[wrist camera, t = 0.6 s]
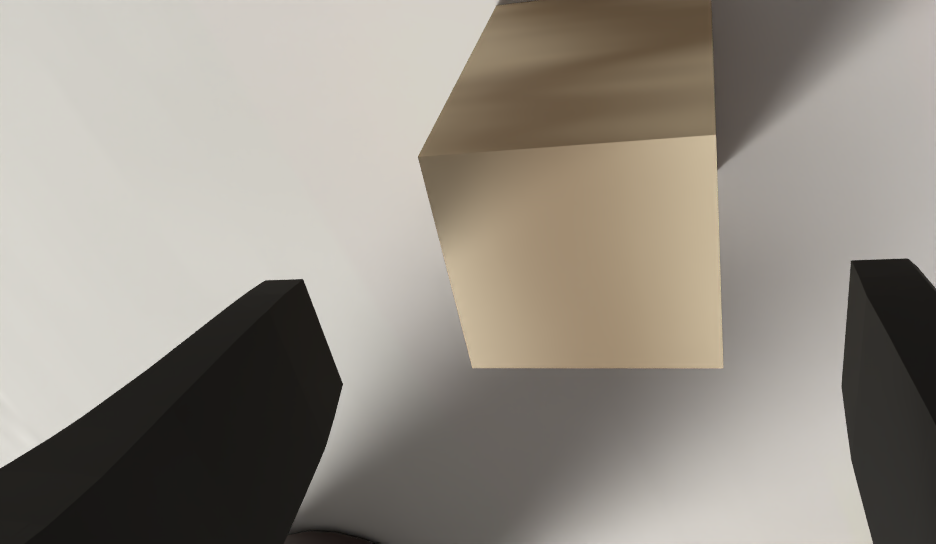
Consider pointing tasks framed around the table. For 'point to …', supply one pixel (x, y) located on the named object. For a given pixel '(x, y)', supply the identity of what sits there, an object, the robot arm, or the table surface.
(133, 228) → the table surface
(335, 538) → the bottle
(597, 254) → the peg
